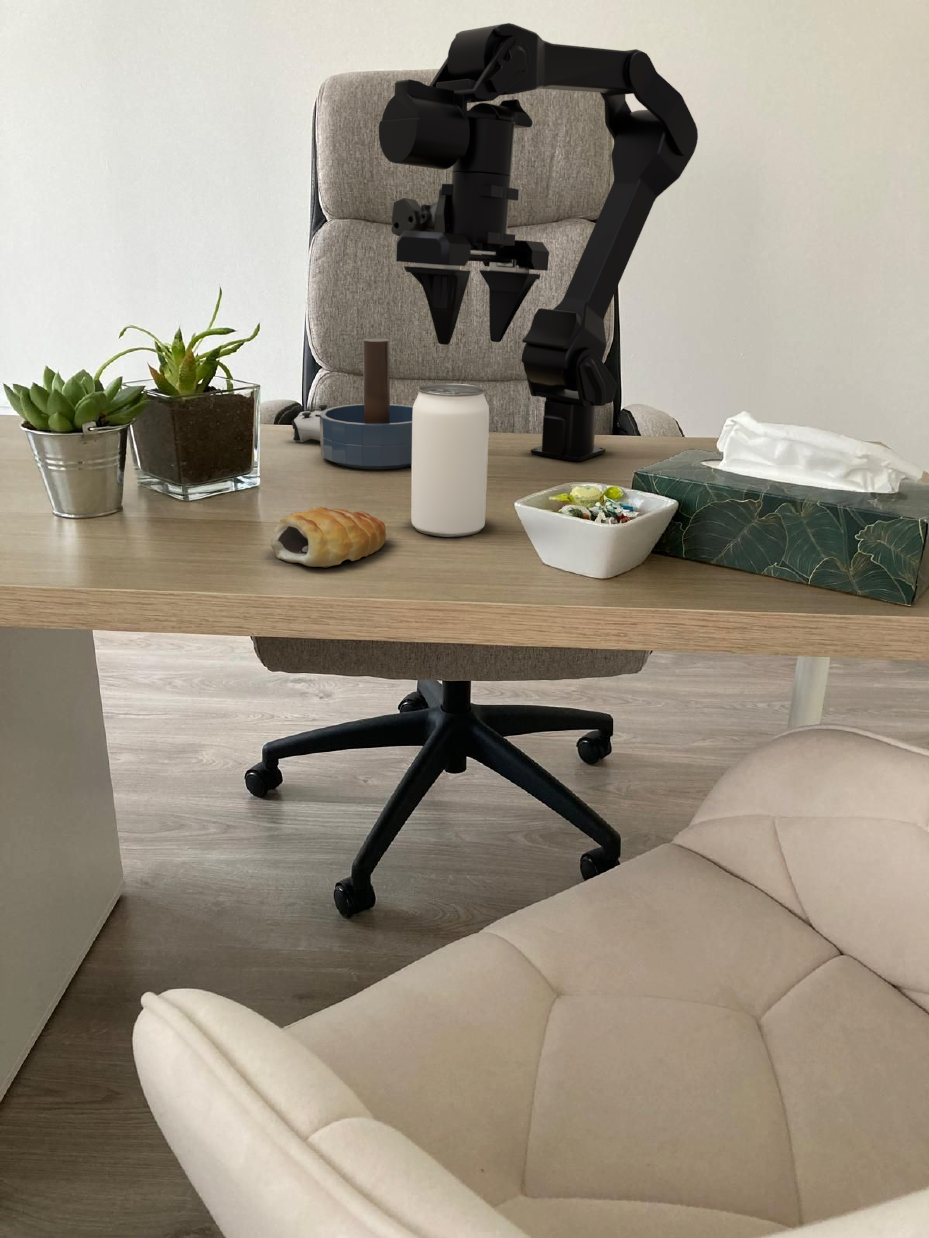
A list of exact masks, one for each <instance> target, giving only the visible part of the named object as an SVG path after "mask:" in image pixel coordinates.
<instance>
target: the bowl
mask: <svg viewBox="0 0 929 1238" xmlns="http://www.w3.org/2000/svg"><path fill="white" fill-rule="evenodd" d="M412 413H413V405H406V404H397V403H395V404H394V403H390V423H384V424H370V423H364V403H357V404H355V403H354V404H346V405H345V404H344V405H338V406H333V407H328V408H326V410H324V411H322V412H321V413H320V441H319V442H320V443H319V444H320V455H321V456H322V458H324V459H325V460H328V461H330V462H333V463H334V464H337V465H339V466H341V467H346V468H353V469H361V470H394V469H403V468H407V467H412Z"/></svg>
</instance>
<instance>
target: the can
mask: <svg viewBox="0 0 929 1238" xmlns="http://www.w3.org/2000/svg"><path fill="white" fill-rule="evenodd" d="M417 391H418V394H417V396H416V398H415V400H414V403H413V404H412V406H413V413H412V466H411V492H410V493H411V495H410V496H411V501H410V503H411V504H410V507H411V511H410V512H411V525H412V526H413V527H414V528H415V530H416V531H417V532H419V533H421V534H424V535H428V536H431V537H432V536H433V537H439V538H462V537H469V536H473V535H476V534H478V533H480V532H481V531H482V529H483V528H484V527H485V524H486V511H487V486H488V463H489V438H490V437H489V434H490V407H489V404H488V402H487V399H486V397H485V392H486V389H485V388H484V387H482V386H480V385H479V386H478V385H473V384H468V383H467V384H465V383H453V382H452V383H449V382H447V383H443V382H441V383H428V384H422V385H419V386H418V387H417Z"/></svg>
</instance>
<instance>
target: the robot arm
mask: <svg viewBox="0 0 929 1238" xmlns="http://www.w3.org/2000/svg"><path fill="white" fill-rule="evenodd" d="M539 89H540V90H556V91H568V92H569V91H572V92H584V93H585V92H587V93H589V92H590V93H600V96H601V97H602V100H603V101H604V125H605V126H606V128H607V130H608V132H609V134H610V136H611V137H612V139H613V141H614V144H613V147H612V151H611V154H610V159H611V168H612V173H613V174H612V175H613V181H612V185H611V187H610V189H609V191H608V194H607V196H606V198H605V201H604V204H603V206H602V208H601V210H600V212H599V215H598V217H597V219H596V222H595V224H594V226H593V229H592V231H591V233H590V236H589V238H588V240H587V243H586V245H585V247H584V250H583V251H582V254H581V257H580V259H579V261H578V263H577V266H576V268H575V271H574V272H573V275H572V277H571V280H570V282H569V285H568V287H567V289H566V291H565V293H564V296H563V298H562V300H561V301H560V302H559V303H558V304H557V305H556V306H554V308H552V309H551V308H542V307H540V308H538V309H537V311H536V312H535V314H534V315H533V319H532V321H531V325H530V328H529V330H528V332H527V334H526V335H525V336H524V337H523V338H522V340H521V342H522V344H525V345H524V347H523V350H522V352H521V353H522V354H521V359H520V360H521V363H522V364H523V370H524V373H525V377H526V380H527V385H528V389H529V393H530V396H531V397H539V398H543V399H545V400H544V402H543V403H544V405H543V406H544V407H543V417H542V435H541V437H542V438H541V445H539V446H536V447H533V448H530V454H532V455H538V456H543V457H544V456H545V457H550V458H555V459H560V460H566V461H572V462H581V461H585V460H587V459H590V458H593V457H596V456H599V455H601V454H605V453H606V450H607V448H605V447H601V446H596V445H595V436H596V424H597V423H596V421H597V407H604V406H606V404H612V403H613V402H614V399H615V396H616V392H617V389H618V383H617V381H616V380H615V377H613V375H612V373H611V372H610V370H609V369H608V368H607V367H606V364H605V363H604V361H603V359H604V356H605V352H606V349H607V336H606V330H605V329H606V328H605V317H606V314H607V312H608V309H609V308H610V305H611V303H612V301H613V298H614V296H615V294H616V291H617V289H618V286H619V284H620V282H621V280H622V277H623V275H624V273H625V271H626V268H627V266H628V263H629V261H630V259H631V257H632V255H633V251H634V250H635V247H636V245H637V243H638V240H639V239H640V236H641V234H642V231H643V228H644V226H645V224H646V222H647V220H648V217H649V215H650V214H651V213H650V212H651V210H652V208H653V206H654V203H655V202H656V200H657V199H658V197H660V195H662V194H663V193H664V192H665V191H667V189H669V188H670V187H671V186H672V185H673V184H675V182H677V181H678V180H679V179H680V178H681V176H682V174H683V173H684V171H685V169H686V168H687V166H688V164H689V162H690V161H691V159H692V157H693V155H694V153H695V151H696V148H697V145H698V140H699V133H698V132H699V131H698V128H697V127H698V126H697V124H696V121H695V119H694V117H693V115H692V113H691V112H690V109H689V107H688V105H687V103H686V101H685V99H684V97H683V95H682V94H681V93H680V92H679V91H678V90H677V89H676V88H675V87H674V86H673V85H672V84H671V83H670V82H668V81H667V80H666V79H665V78H664V77H663V76H662V75H661V74H659V73H658V71H657V69H656V68H655V65H654V64H653V62H652V58H651V57H650V56H649V54H648V53H646V52H645V51H642V50H641V49H637V48H636V49H628V50H619V49H609V48H601V47H591V46H590V47H589V46H580V45H569V44H561V43H551V42H549V41H546V40H544V39H543V38H542V37H541V36H540V35H539V34H538V33H537V32H535V31H532V30H530V29H527V28H525V27H522V26H520V25H517V24H514V23H510V22H507V23H500V24H494V25H489V26H484V27H478V28H472V29H466V30H461V31H459V32H456V34H455V35H454V38H453V40H452V41H451V43H450V46H449V49H448V51H447V57H446V59H445V60H444V62H443V63H442V65H441V66H440V68H439V70H438V71H437V73H436V74H435V75H434V77H433V79H432V80H431V82H430V84H428V85H427V84H425V83H423V82H422V81H419V80H414V79H401V80H396V81H395V82H394V95H393V96H392V97H391V98H390V99H389V101H388V102H387V104H386V106H385V107H384V111H383V113H382V117H381V120H380V121H379V123H378V140H379V144H380V145H379V146H380V150H381V152H382V154H383V156H384V157H385V159H387V161H388V162H390V163H393V164H398V165H403V166H405V165H406V166H410V167H411V166H412V167H419V168H427V169H435V170H442V171H443V170H444V171H445V170H448V169H451V175H450V176H451V177H450V179H451V180H450V183H441V187H440V188H439V190H438V200H437V202H433V203H431V204H426V203H425V204H421V205H420V204H419V202H418V201H417V200H416V199H414V198H407V197H403V198H401V199H398V200H396V201H394V202H393V205H392V214H391V225H392V226H391V233H392V234H393V235H396V236H397V237H398V238H397V239H396V240H395V258H394V259H395V260H394V261H395V262H398V263H399V262H400V263H412V264H415V265H414V266H410V265H409V266H408V265H406V266H405V265H404V266H403V269H404V271H405V272H406V273H410V275H412V276H413V278H414V279H415V280H416V281H418V283H419V284H420V285H421V287H422V289H423V292H424V295H425V298H426V301H427V305H428V308H429V312H430V316H431V320H432V324H433V328H434V332H435V334H436V335H435V336H436V339H437V343H438V344H439V345H445V346H448V345H450V344H451V341H452V337H453V335H454V332H455V329H456V325H457V321H458V318H459V314H460V310H461V307H462V303H463V300H464V296H465V292H466V289H467V286H468V283H469V279H470V276H471V270H463V269H461V267H466V265H467V264H468V262H480V263H483V266H484V267H487V268H488V267H489V268H488V270H487V269H479V273H480V275H481V276H482V278H483V280H484V282H485V284H486V285H487V287H488V302H489V303H488V310H489V311H488V319H489V320H488V321H489V323H488V325H489V326H488V327H489V339H490V340H489V341H491V342H492V343H500V342H502V340H503V339H504V336H505V334H506V333H507V331H508V329H509V327H510V325H511V323H512V322H513V320H514V318H515V316H516V314H517V313H518V311H519V309H520V307H521V305H522V303H523V302H524V300H525V298H526V297H527V296H528V294H529V292H530V291H531V289H532V287H533V286H534V284H535V282H536V281H537V280H540V279H541V273H530V271H548V269H549V259H550V251H549V249H548V248H547V247H546V245H545V243H544V242H543V241H535V240H525V239H522V240H521V239H516V234H511V233H508V223H509V222H508V221H509V210H510V201H515V202H516V201H517V202H518V201H519V192H520V189H518V188H512V187H511V182H512V170H513V169H512V167H513V155H514V154H513V153H514V139H515V129H529V128H532V126H533V124H534V123H533V119H532V118H531V116H530V115H529V114H528V113H527V112H526V111H525V110H524V108H523V107H522V105H521V102H520V100H519V99H518V98H516V99H515V98H513V99H504V100H502V101H501V102H500V103H499V104H498V105H497V104H492V103H487V102H493V101H495V100H496V99H497V98H499V97H501V96H508V95H509V96H510V95H516V94H521V93H525V92H531V91H535V90H539ZM626 95H633V96H634V97H635V99H636V100H637V102H638V103H640V104H641V106H643V107H644V108H645V109H639V110H638V109H637V110H634V111H632V110H631V108H630V105H629V104H628V102H627V100H626ZM473 103H476V104H474V105H473V106H472V107H470V108H469V110H468V104H473Z"/></svg>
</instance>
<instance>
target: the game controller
mask: <svg viewBox="0 0 929 1238" xmlns="http://www.w3.org/2000/svg"><path fill="white" fill-rule="evenodd" d="M326 409H328V405H327V404H320V405H319V406H318V408H317V409H311V410H310V409H306V410H304V411H300V412H299V413H298V414H297V415H296V417H295V418H294V419H292V420H291V426H292V429H293V431H294V433H293V435H294V436H293V441H296V442H300V443H304V442H306V441H308V440H316V441H318V442H320V413H321V412H322V411H324V410H326Z"/></svg>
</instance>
